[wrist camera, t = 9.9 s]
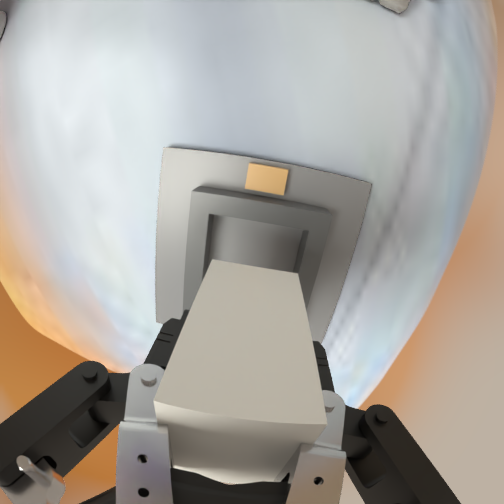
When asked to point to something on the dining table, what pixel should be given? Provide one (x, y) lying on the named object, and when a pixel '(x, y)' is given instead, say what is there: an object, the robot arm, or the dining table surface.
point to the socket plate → (254, 226)
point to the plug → (242, 377)
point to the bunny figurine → (395, 4)
